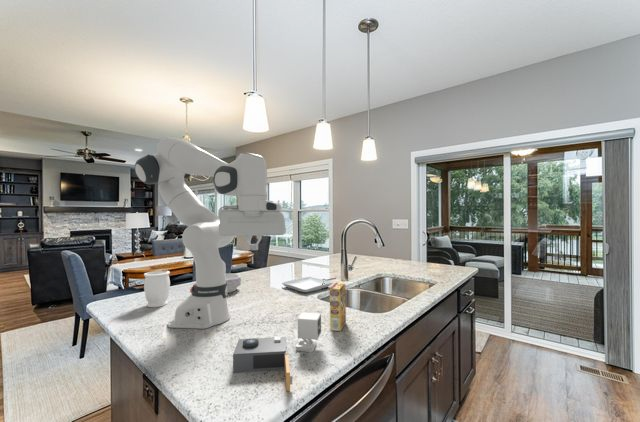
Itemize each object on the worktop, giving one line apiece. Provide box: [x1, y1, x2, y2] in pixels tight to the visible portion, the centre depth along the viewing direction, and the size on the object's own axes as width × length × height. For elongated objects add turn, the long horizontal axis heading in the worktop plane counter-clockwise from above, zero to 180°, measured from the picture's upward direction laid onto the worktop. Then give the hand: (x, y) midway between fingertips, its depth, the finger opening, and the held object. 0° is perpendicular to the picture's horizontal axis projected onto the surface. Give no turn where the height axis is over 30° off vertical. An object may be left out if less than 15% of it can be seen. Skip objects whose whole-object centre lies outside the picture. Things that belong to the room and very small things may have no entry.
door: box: [284, 351, 293, 392], centre depth 74 cm, size 10×2×5 cm, turn 9°
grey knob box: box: [232, 336, 287, 374], centre depth 82 cm, size 14×9×6 cm, turn 96°
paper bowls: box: [226, 273, 242, 294], centre depth 157 cm, size 15×15×8 cm
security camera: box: [295, 312, 322, 353], centre depth 91 cm, size 6×7×10 cm
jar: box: [143, 270, 171, 308], centre depth 134 cm, size 11×10×15 cm
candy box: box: [329, 282, 347, 332], centre depth 107 cm, size 9×4×15 cm, turn 162°
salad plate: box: [281, 276, 334, 294], centre depth 162 cm, size 21×21×3 cm
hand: (253, 250), depth 89 cm, fingers closed
